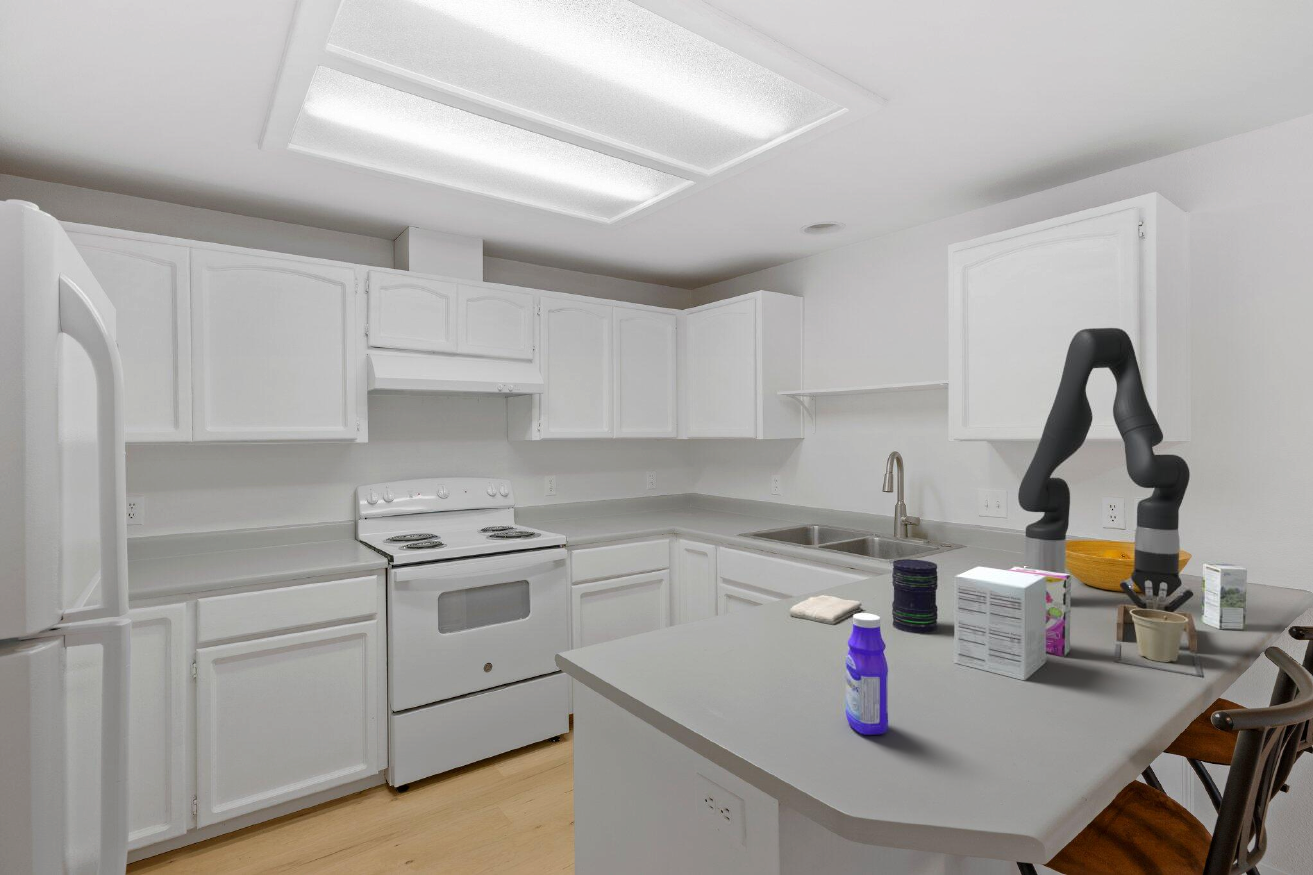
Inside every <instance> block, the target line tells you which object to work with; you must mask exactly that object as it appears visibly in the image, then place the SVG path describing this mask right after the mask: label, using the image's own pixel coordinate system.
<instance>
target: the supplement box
mask: <svg viewBox="0 0 1313 875" xmlns="http://www.w3.org/2000/svg"><path fill="white" fill-rule="evenodd" d="M1007 570H1008V569H1006V570H1005V569H999V568H994V567H993V568H992V567H986V566H980V565H978V566H976V567H974V568H972V569H969V570H967V571H964V572H961V573H959V574H956V575H955V576H954V631H953V632H954V633H953V635H954V637H953V638H954V643H953V644H954V645H953V646H954V647H953V648H954V655H953V661H954V663H955V664H957V665H962V666H965V667H971V668H974V669H978V670H981V671H986V672H990V673H993V674H997V675H1001V676H1005V677H1008V678H1013V679H1015V680H1016V679H1017V680H1021V681H1026V680H1028V679H1029V678H1030V677H1031V676H1032V675H1033V674H1034V673H1035V672H1037V671H1038V670H1039V669H1040V668H1041V667H1042V666H1044V665H1045V663H1046V661H1047V660H1046V659H1047V658H1046V656H1047V655H1046V654H1047V653H1046V576H1042V575H1036V574H1029V573H1022V572H1015V571H1007Z"/></svg>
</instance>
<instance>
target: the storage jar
mask: <svg viewBox="0 0 1313 875" xmlns="http://www.w3.org/2000/svg"><path fill="white" fill-rule="evenodd" d="M892 566H893V568H892V573H891V574H892V582H891V583H892V587H893V601H892V604H891V608H892V609H891V615H892V627H893V628H895V629H897V630H898V631H901V632H905V633H910V634H916V635H917V634H918V635H919V634H920V635H921V634H922V635H923V634H924V635H927V634H932V633H933V634H934V633H936V632H937V630H938V627H937V623H938V621H937V620H938V610H939V608H938V605H937V590H938V586H939V585H938V580H939V579H938V571H937V570H938V564H937V563H935V562H932V561H928V560H921V559H905V558H904V559H896V560H893V561H892Z"/></svg>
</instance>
